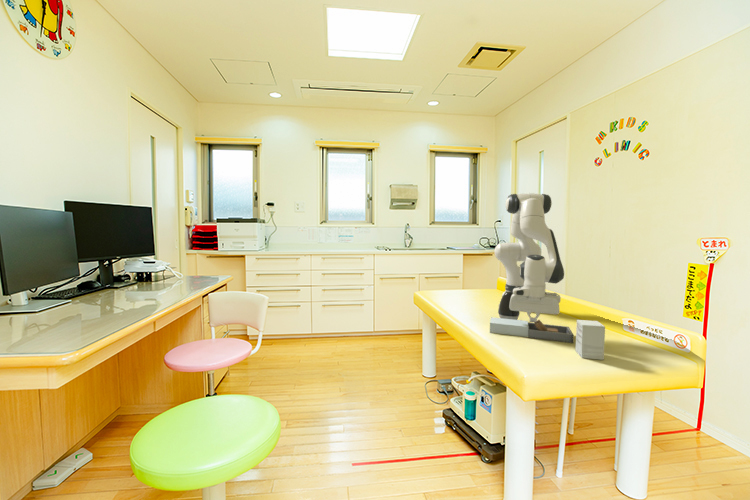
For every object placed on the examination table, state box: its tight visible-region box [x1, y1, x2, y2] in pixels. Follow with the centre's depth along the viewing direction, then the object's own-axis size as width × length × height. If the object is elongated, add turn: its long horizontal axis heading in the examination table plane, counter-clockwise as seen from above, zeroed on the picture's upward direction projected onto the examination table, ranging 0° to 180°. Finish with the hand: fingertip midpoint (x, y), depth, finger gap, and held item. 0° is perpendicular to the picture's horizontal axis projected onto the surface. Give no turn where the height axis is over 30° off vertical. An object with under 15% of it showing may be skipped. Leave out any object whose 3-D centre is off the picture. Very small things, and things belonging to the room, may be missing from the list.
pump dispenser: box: [497, 290, 521, 320], centre depth 168 cm, size 10×10×15 cm
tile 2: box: [547, 328, 558, 332], centre depth 144 cm, size 4×4×2 cm
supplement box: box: [575, 319, 606, 361], centre depth 123 cm, size 7×7×13 cm
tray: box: [527, 322, 574, 344], centre depth 145 cm, size 12×17×4 cm
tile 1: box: [533, 319, 547, 331], centre depth 146 cm, size 4×4×2 cm
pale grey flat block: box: [489, 316, 529, 338], centre depth 151 cm, size 10×16×4 cm, turn 68°
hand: (533, 321), depth 147 cm, fingers closed
